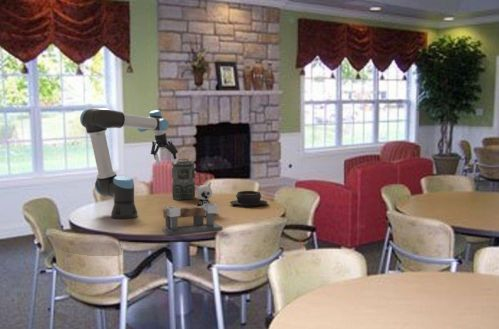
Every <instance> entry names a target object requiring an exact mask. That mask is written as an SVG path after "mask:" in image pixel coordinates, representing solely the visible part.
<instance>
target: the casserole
mask: <svg viewBox="0 0 499 329" xmlns="http://www.w3.org/2000/svg"><path fill="white" fill-rule="evenodd" d="M235 197H236V200H231V201H230V202H229V203H230V204H231V205H235V206H236V205H237V206H242V207H247V206H251V207H257V206H259V205H266V204H268V201H267V200H261V198H262V194H261V192H259V191H255V190H242V191H241V190H240V191H238V192H237V194H236V196H235Z"/></svg>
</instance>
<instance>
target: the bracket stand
mask: <svg viewBox="0 0 499 329" xmlns="http://www.w3.org/2000/svg"><path fill="white" fill-rule="evenodd" d="M180 208H181V207H177V205H174V206H166V207H165V209H166V215H168V216H169V217H170V228H168V227H163V228H161V232H162V233H164V234H165V235H166V236H172V235H174V236H175V235H182V234H183V235H186V234H194V233H202V232H203V233H204V232H213V231H221V229H222V230H223V226H222V225H220V224H218V223H216V222H215V221H214V220H215V218H214V216H215V214H218V213H219V210H218V204H216V203H214V202H212V203H211V202H210V203H208V204H203V211H204V212H206V216H205V217H206V218H205V219H206V222H205V223H203V224H200V225H195V224H191V225H190V224H189V225H181V226H179V225H178V218H177V216H180ZM214 213H215V214H214Z"/></svg>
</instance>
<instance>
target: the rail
mask: <svg viewBox="0 0 499 329" xmlns="http://www.w3.org/2000/svg"><path fill="white" fill-rule="evenodd" d="M196 206H197V205H196ZM179 208H180V216H177V219H180V218H188V217H189V218H193V216H203V215H205V212H204V211H203V206H197V207H195V206H188V207H187V206H186V207H179ZM162 210H163V211H162V212H163V214H162V216H163V219H170V217H169V216H168V215H166V208H163V209H162ZM203 217H204V216H203Z"/></svg>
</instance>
